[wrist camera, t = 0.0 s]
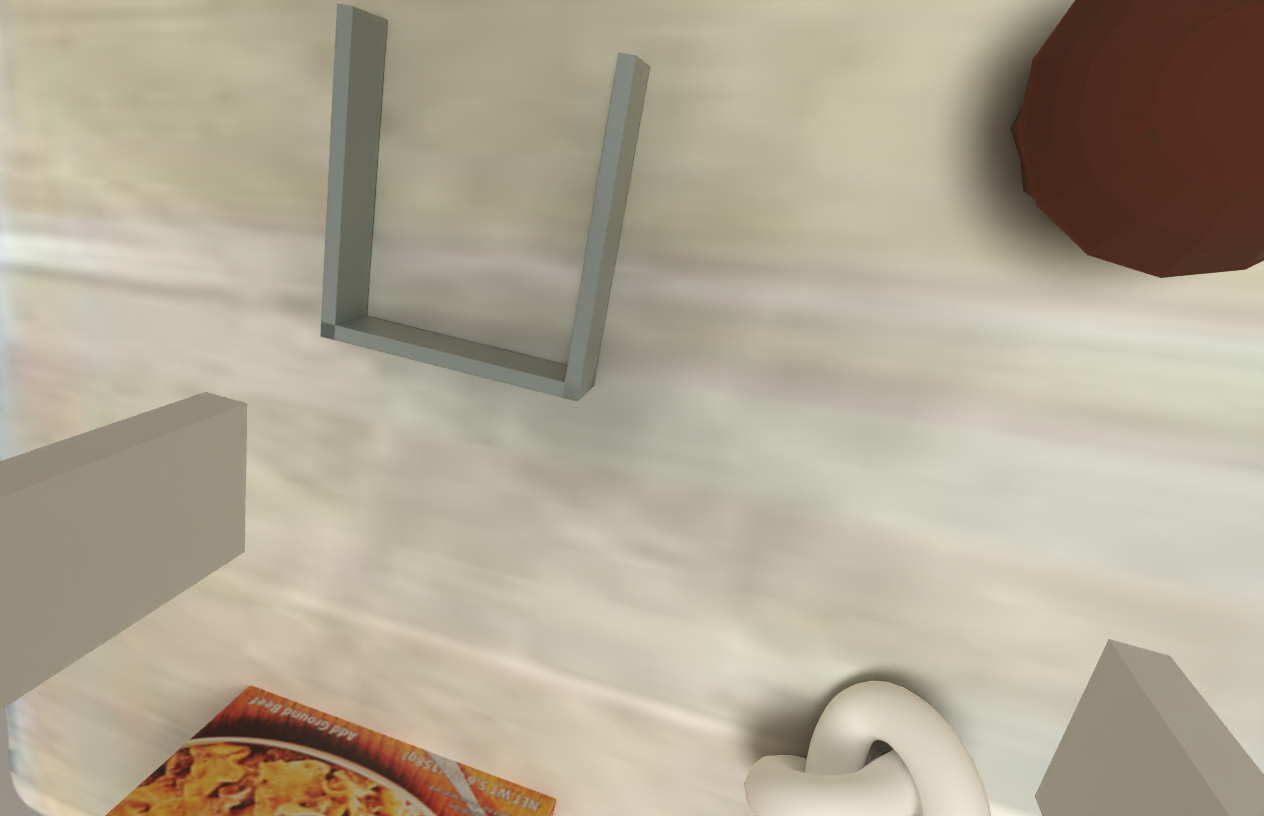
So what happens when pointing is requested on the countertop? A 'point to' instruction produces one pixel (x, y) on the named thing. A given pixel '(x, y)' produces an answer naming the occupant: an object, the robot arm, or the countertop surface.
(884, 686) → the white knot sculpture
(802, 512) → the countertop surface
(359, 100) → the u-shaped frame
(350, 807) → the cereal box
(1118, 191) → the muffin
